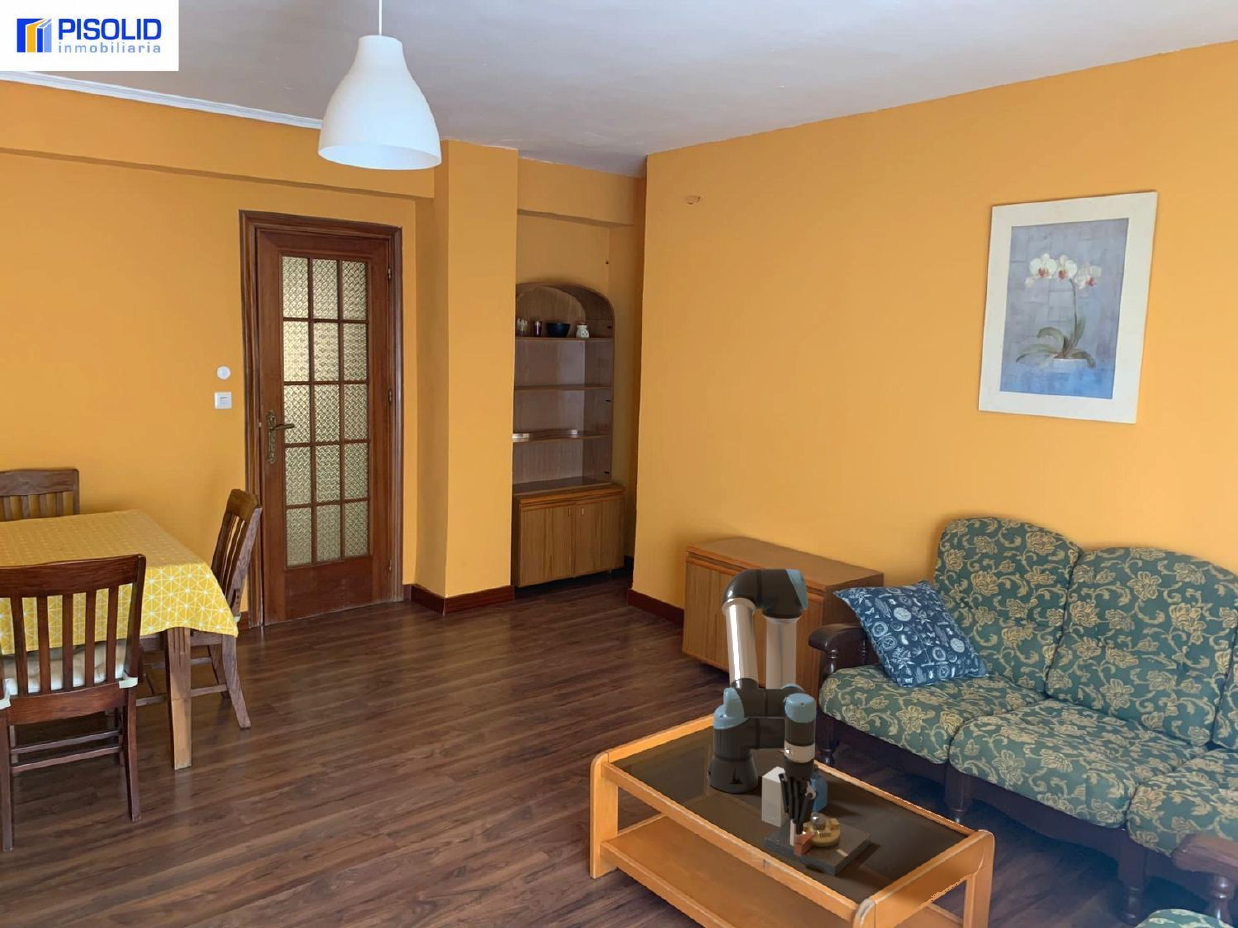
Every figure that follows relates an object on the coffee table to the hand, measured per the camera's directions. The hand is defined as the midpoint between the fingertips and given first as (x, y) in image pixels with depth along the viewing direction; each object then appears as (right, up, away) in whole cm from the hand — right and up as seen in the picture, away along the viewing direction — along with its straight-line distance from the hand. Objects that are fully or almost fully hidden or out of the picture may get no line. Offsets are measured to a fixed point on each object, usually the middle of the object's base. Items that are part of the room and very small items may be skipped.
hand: (795, 843), depth 237 cm
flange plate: (+7, -3, +6) cm, 10 cm away
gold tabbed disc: (+5, -1, +3) cm, 6 cm away
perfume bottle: (+10, 0, +27) cm, 29 cm away
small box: (-1, -1, +20) cm, 20 cm away
